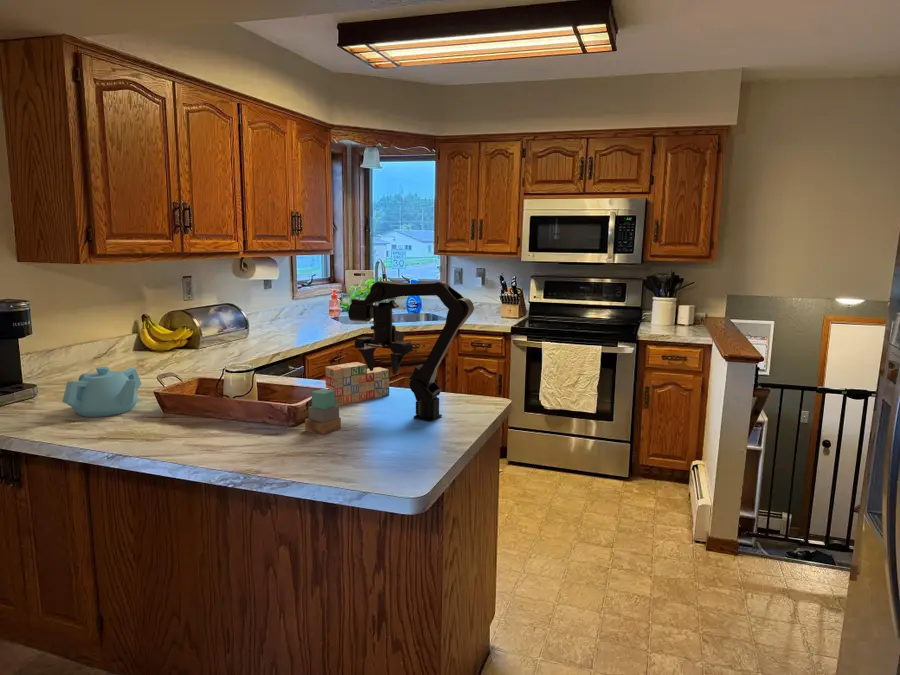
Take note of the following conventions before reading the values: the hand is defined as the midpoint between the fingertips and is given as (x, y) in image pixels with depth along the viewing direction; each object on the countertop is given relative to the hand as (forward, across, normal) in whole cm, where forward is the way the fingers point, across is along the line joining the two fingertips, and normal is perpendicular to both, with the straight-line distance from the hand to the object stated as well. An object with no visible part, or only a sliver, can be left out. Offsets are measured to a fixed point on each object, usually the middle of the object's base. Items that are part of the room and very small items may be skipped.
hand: (383, 372), depth 180 cm
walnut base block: (+13, +4, +22) cm, 26 cm away
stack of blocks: (+13, +18, -9) cm, 24 cm away
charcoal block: (+10, +4, +22) cm, 24 cm away
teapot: (+13, +73, +46) cm, 87 cm away
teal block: (+6, +4, +22) cm, 23 cm away
